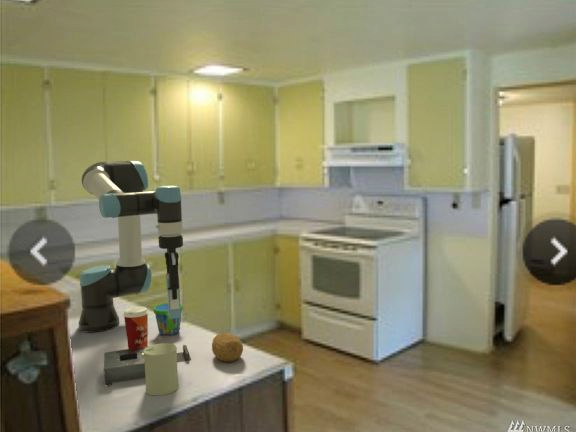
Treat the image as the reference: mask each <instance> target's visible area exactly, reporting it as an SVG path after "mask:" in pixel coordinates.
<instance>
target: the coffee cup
mask: <svg viewBox="0 0 576 432" xmlns="http://www.w3.org/2000/svg"><path fill="white" fill-rule="evenodd" d="M148 314H149V310H148V308H147V307H145V306H132V307H127V308H126V309H124V311H123V314H122V316H123V318H124V326H125V332H126V333H125V334H126V342H127V349H132V348H140V347H147V346H148V344H149V342H148V336H149V335H148V329H149V328H148V325H149V324H148V323H149V321H148V318H149V317H148Z"/></svg>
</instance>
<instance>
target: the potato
mask: <svg viewBox="0 0 576 432" xmlns="http://www.w3.org/2000/svg"><path fill="white" fill-rule="evenodd" d="M211 350H212V353H213V355H214V356H215V357H216V358H217V359H218V360H220V361H223V362H228V363H230V362H234V361H235V362H236V361H237V360H238V359H239V358H240V357H241V356H242V355H243V352H244V345H243V343H242V341H241V339H240V338H239V337H238V336H237V335H234V334H231V333H228V332H222V333H218V334H216V335H215V336H214V338H213V339H212V343H211Z"/></svg>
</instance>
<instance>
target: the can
mask: <svg viewBox="0 0 576 432" xmlns="http://www.w3.org/2000/svg"><path fill="white" fill-rule="evenodd" d="M177 349H178V347H177V346H176V344H173V343H165V342H161V343H156V344H151V345H149V347H147V348H145V349H144V351H143V352H144V361H145V377H146V378H145V392H146V393H147V394H148V395H152V396H163V395H164V396H165V395H169V394H172V393H174V392H176V391H177V390H178V389H179V388H180V384H179V374H178V373H179V372H178V362H177V353H178V352H177Z"/></svg>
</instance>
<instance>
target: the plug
mask: <svg viewBox="0 0 576 432" xmlns="http://www.w3.org/2000/svg"><path fill="white" fill-rule="evenodd" d="M165 274H166V292H167V293H166V296H167V303H168V316H169V319H173V318H181V319H182V312H181V307H180V304H181V290H180V289H181V288H180V286H181V285H179V288H178V291H179V309H172V310H171V309H170V290H168V288H170V279H169V273H167V272H166V273H165ZM178 278H179V279H180V274H179V273H178Z"/></svg>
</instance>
